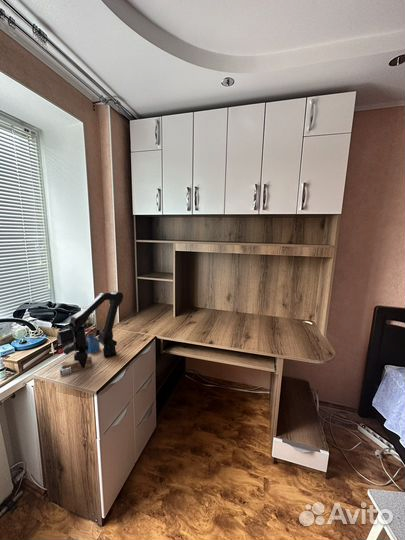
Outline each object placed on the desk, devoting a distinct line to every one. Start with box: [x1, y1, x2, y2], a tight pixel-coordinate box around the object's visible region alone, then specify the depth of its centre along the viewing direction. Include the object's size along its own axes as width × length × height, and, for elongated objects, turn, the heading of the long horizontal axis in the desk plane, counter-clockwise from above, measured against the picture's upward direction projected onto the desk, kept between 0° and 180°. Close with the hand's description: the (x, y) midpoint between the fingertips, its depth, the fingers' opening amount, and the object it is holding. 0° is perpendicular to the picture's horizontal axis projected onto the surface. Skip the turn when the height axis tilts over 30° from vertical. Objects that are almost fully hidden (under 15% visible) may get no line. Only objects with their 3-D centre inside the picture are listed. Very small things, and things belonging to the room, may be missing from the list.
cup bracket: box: [59, 363, 73, 376], centre depth 122 cm, size 5×8×3 cm, turn 25°
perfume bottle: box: [86, 331, 101, 355], centre depth 144 cm, size 6×6×12 cm
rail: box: [61, 355, 93, 372], centre depth 125 cm, size 14×4×4 cm, turn 115°
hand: (83, 363), depth 126 cm, fingers open, 9 cm apart
